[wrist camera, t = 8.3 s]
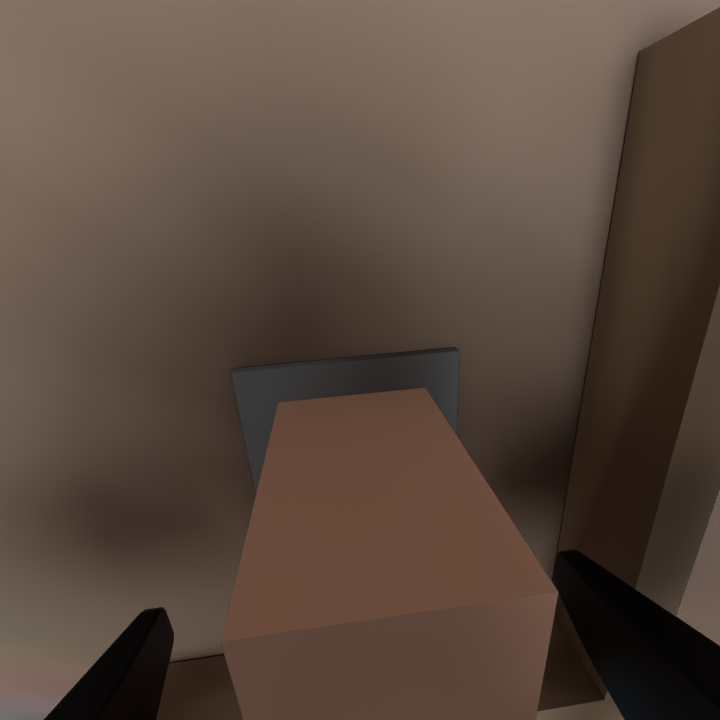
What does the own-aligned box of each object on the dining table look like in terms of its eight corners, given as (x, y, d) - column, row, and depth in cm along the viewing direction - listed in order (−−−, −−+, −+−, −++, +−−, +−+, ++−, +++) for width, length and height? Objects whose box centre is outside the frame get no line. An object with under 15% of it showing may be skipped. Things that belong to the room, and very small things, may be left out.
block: (425, 573, 12) (510, 858, 7) (307, 590, 12) (296, 901, 7) (425, 387, 10) (558, 592, 4) (278, 402, 10) (220, 642, 4)
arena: (702, 48, 8) (902, -45, 5) (579, 626, 15) (639, 719, 12) (-96, 79, 7) (-379, -22, 4) (159, 692, 14) (117, 813, 11)
